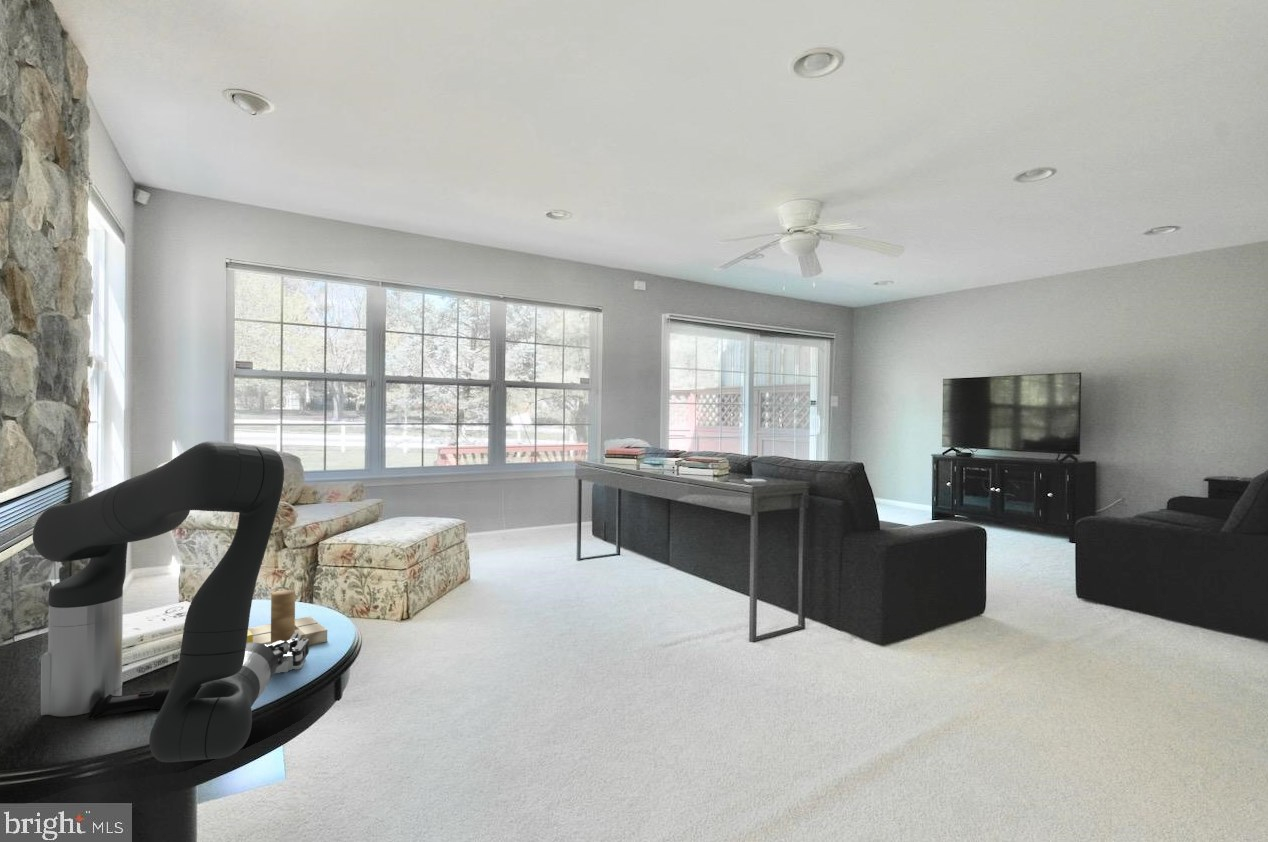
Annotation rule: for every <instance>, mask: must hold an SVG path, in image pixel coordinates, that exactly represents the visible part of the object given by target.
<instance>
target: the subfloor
mask: <svg viewBox="0 0 1268 842" xmlns="http://www.w3.org/2000/svg"><path fill="white" fill-rule="evenodd" d="M248 630H249V631H250V632H251V633H252V634H253V642H255V643H260V644H263V645H265V644H267V645H269V644H272V643H271V623H269V624H261V625H257V626H253V627H248ZM295 633H298V635H301V636H302V639H305V638H306V639H309V646H313V645H318V644H322V643H326V642H328V629H327V628H325V627H324V626H323V625H322V624H321V623H319V621H317V620H316V619H315V618H314V617H312V616H306V617H305V616H304V617H299V618H295Z"/></svg>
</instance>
